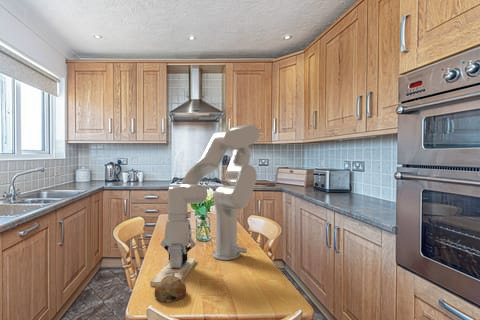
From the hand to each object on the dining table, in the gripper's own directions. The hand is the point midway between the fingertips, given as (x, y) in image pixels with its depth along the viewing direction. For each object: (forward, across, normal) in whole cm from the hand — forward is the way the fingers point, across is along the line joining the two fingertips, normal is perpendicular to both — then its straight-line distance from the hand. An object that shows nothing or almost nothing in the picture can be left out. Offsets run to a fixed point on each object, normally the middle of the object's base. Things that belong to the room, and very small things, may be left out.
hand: (178, 261), depth 119 cm
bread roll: (+3, -4, +21) cm, 22 cm away
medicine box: (+1, 0, 0) cm, 1 cm away
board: (+3, 0, +4) cm, 5 cm away
